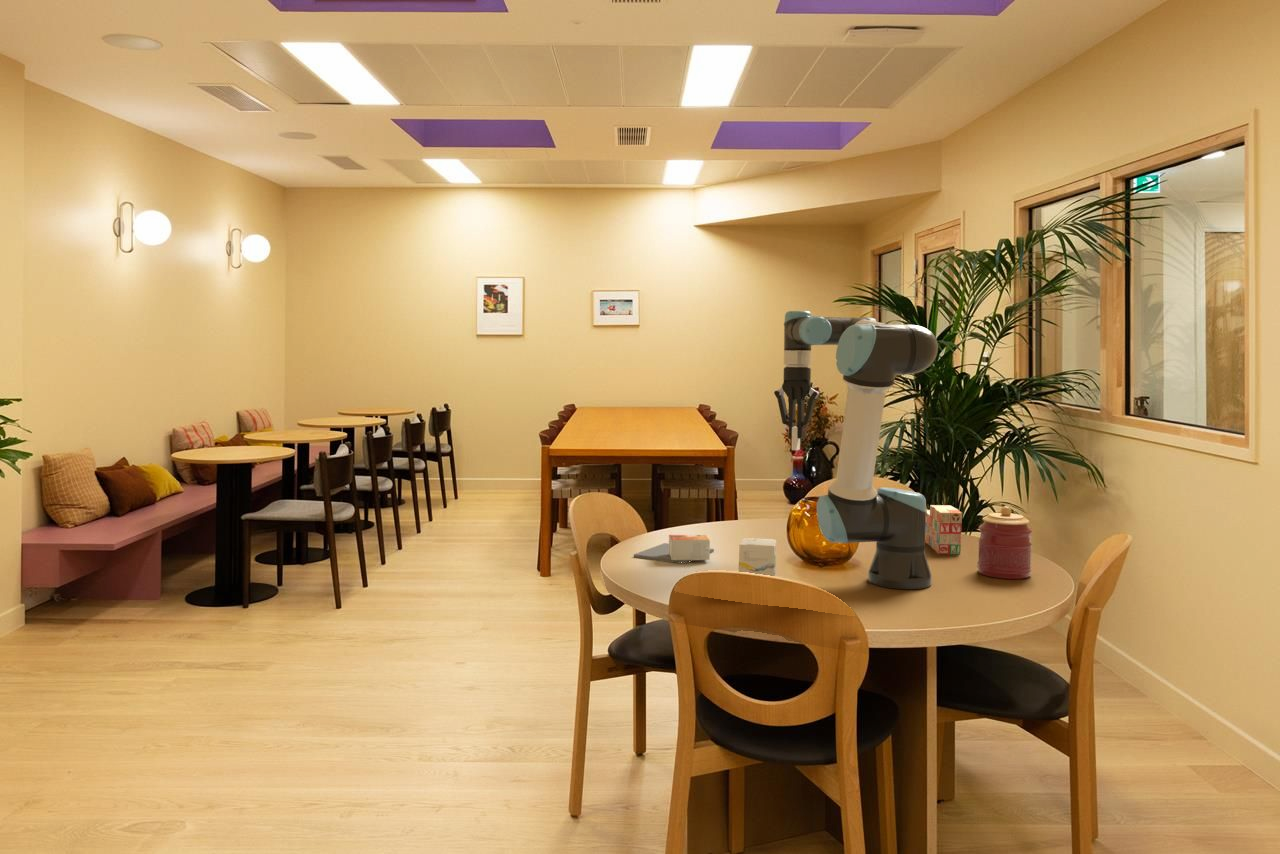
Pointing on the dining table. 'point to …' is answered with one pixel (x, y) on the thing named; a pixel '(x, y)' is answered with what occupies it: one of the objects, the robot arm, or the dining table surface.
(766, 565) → the ink box
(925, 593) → the dining table surface
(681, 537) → the small box
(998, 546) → the canister
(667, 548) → the mat
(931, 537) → the stack of blocks
